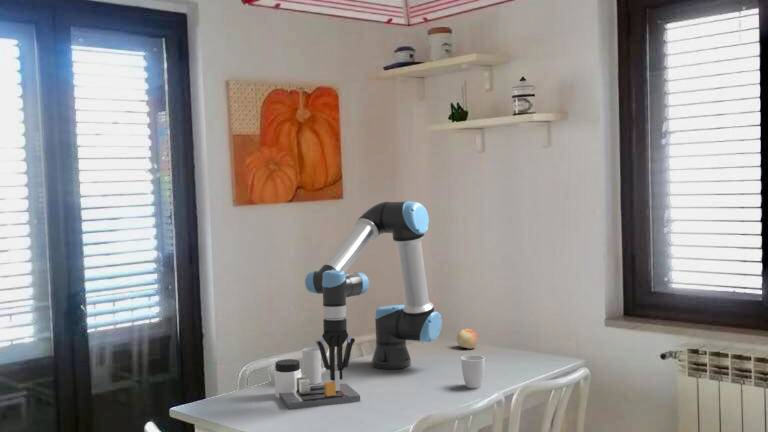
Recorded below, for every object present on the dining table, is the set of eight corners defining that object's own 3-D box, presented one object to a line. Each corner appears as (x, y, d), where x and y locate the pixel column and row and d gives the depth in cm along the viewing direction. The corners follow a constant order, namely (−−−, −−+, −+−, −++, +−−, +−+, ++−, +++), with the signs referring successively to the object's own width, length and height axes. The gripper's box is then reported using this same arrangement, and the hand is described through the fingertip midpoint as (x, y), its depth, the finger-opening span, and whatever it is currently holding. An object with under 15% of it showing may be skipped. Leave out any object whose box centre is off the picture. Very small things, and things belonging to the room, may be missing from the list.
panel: (346, 388, 283) (345, 370, 282) (360, 401, 266) (359, 381, 266) (277, 396, 275) (277, 376, 275) (287, 409, 259) (287, 389, 259)
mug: (309, 385, 288) (308, 352, 287) (299, 382, 293) (298, 349, 293) (333, 380, 294) (332, 348, 293) (323, 377, 299) (322, 345, 299)
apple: (467, 345, 350) (466, 326, 350) (482, 348, 343) (481, 329, 343) (452, 348, 344) (452, 329, 344) (467, 351, 338) (467, 332, 337)
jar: (285, 392, 281) (284, 358, 281) (305, 394, 278) (304, 359, 277) (271, 399, 273) (269, 363, 273) (291, 401, 270) (290, 365, 269)
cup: (486, 384, 285) (486, 355, 284) (483, 390, 277) (482, 360, 277) (463, 382, 287) (463, 354, 287) (459, 388, 279) (459, 360, 279)
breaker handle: (333, 393, 268) (333, 381, 267) (335, 395, 265) (335, 383, 265) (324, 394, 267) (324, 381, 266) (326, 396, 264) (326, 384, 264)
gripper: (350, 314, 271) (352, 385, 272) (312, 317, 267) (314, 389, 268) (357, 318, 264) (359, 390, 265) (318, 321, 259) (320, 394, 261)
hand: (336, 389), depth 266 cm, fingers closed
